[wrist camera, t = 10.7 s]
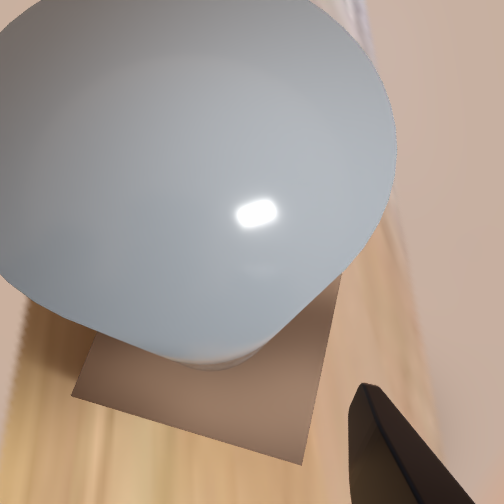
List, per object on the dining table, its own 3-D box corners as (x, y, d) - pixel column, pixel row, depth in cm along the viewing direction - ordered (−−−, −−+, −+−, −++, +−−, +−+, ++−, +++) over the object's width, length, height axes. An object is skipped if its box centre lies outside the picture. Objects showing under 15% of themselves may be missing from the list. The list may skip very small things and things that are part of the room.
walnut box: (286, 448, 19) (301, 465, 16) (100, 392, 20) (70, 396, 16) (327, 268, 23) (347, 245, 19) (166, 222, 23) (154, 191, 19)
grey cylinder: (258, 387, 16) (356, 404, 4) (126, 349, 17) (-157, 256, 4) (290, 260, 18) (421, 18, 6) (171, 227, 19) (67, -74, 6)
